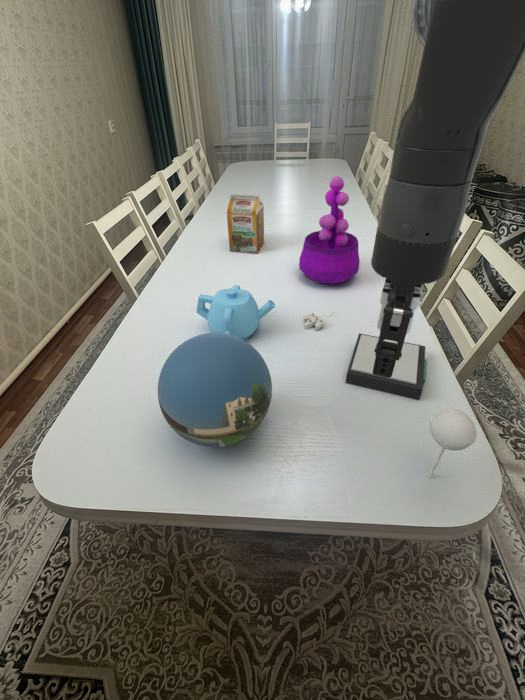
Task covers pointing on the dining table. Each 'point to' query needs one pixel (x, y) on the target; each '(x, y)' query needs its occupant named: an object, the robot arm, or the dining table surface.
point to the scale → (405, 374)
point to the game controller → (313, 321)
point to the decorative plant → (331, 243)
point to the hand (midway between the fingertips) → (385, 353)
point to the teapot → (233, 312)
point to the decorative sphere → (214, 389)
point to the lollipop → (451, 432)
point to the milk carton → (245, 223)
